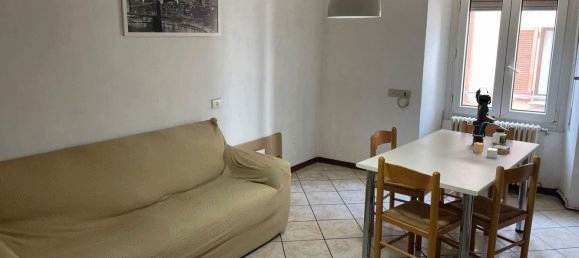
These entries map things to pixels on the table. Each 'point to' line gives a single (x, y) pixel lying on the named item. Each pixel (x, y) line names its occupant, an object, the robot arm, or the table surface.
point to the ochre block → (478, 147)
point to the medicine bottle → (499, 136)
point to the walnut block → (502, 149)
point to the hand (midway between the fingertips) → (480, 133)
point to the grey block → (492, 152)
